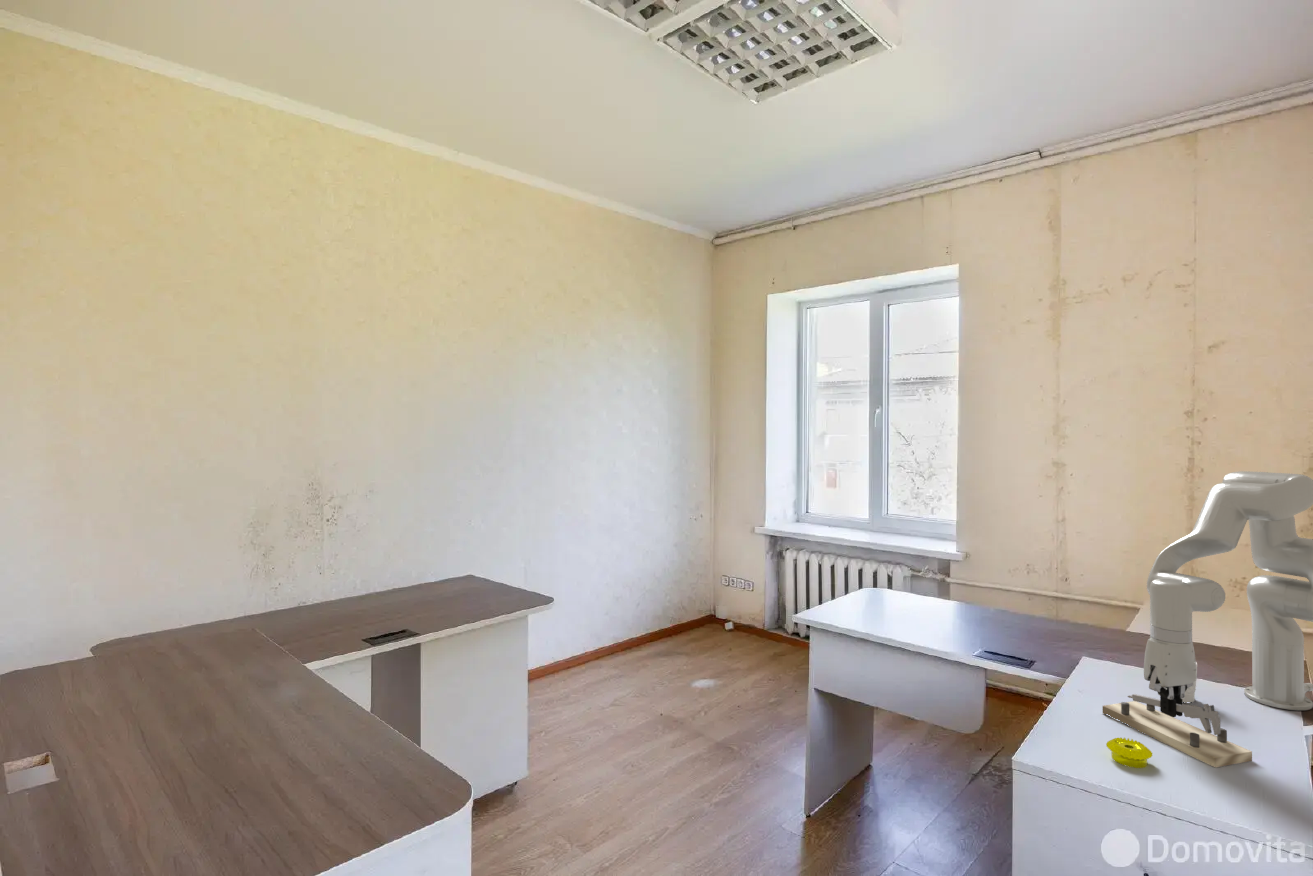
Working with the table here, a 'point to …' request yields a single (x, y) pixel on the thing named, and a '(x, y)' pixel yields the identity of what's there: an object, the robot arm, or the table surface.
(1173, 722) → the tool rest
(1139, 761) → the gear
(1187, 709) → the caliper
